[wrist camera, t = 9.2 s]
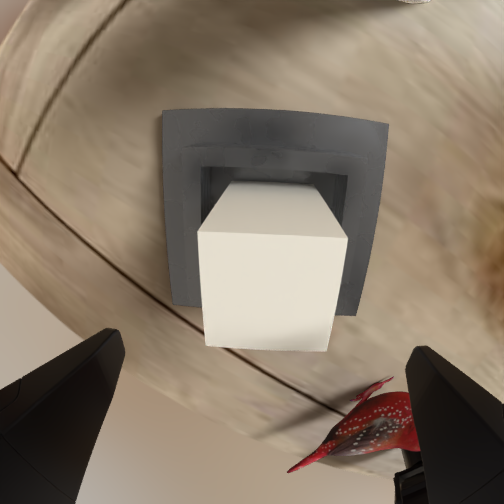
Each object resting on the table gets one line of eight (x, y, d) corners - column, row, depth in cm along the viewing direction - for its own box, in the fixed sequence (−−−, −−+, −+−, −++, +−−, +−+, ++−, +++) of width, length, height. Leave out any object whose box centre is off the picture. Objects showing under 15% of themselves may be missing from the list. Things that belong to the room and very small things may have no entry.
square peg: (306, 258, 20) (326, 351, 12) (232, 254, 20) (205, 345, 12) (313, 184, 18) (348, 238, 10) (231, 180, 18) (197, 231, 10)
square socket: (353, 308, 22) (364, 341, 19) (176, 297, 23) (161, 328, 19) (383, 123, 17) (408, 125, 13) (167, 111, 17) (143, 109, 14)
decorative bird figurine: (430, 358, 25) (466, 435, 15) (293, 432, 30) (295, 505, 21) (421, 344, 24) (461, 425, 15) (278, 423, 29) (277, 500, 20)
